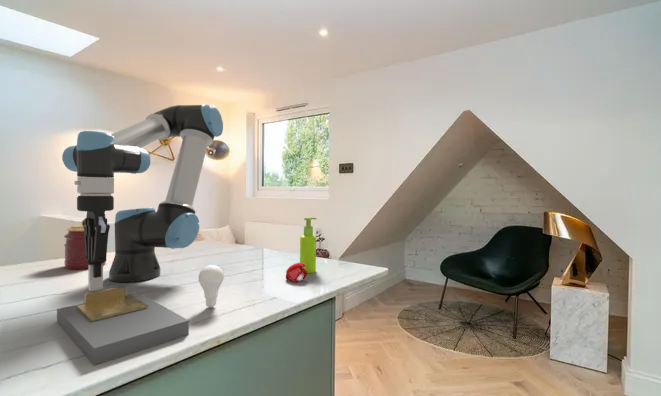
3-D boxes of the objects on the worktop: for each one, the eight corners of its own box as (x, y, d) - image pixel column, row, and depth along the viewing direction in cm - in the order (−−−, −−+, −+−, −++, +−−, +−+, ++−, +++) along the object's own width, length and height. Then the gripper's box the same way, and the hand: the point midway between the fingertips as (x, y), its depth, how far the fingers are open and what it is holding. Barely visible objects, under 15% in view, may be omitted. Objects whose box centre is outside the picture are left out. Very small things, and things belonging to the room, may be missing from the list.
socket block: (57, 322, 77) (56, 308, 77) (138, 303, 90) (138, 292, 90) (94, 365, 60) (94, 348, 59) (188, 334, 72) (188, 320, 72)
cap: (313, 270, 116) (302, 259, 119) (305, 267, 111) (293, 256, 114) (298, 288, 116) (287, 276, 119) (289, 287, 111) (278, 274, 114)
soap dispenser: (320, 270, 130) (321, 217, 129) (309, 273, 124) (310, 218, 123) (307, 267, 133) (308, 216, 132) (296, 271, 127) (297, 217, 126)
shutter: (76, 308, 78) (76, 294, 78) (129, 297, 86) (129, 284, 86) (91, 321, 71) (91, 306, 70) (147, 307, 79) (147, 294, 79)
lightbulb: (202, 303, 91) (202, 262, 91) (225, 303, 92) (226, 262, 91) (195, 312, 85) (195, 268, 85) (220, 311, 86) (220, 268, 85)
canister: (78, 262, 135) (78, 217, 135) (113, 261, 137) (112, 217, 136) (55, 270, 123) (55, 221, 122) (94, 269, 124) (94, 221, 123)
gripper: (70, 194, 86) (70, 287, 87) (84, 195, 78) (84, 298, 78) (105, 194, 92) (104, 281, 92) (121, 195, 83) (121, 291, 84)
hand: (95, 289), depth 85 cm, fingers closed
